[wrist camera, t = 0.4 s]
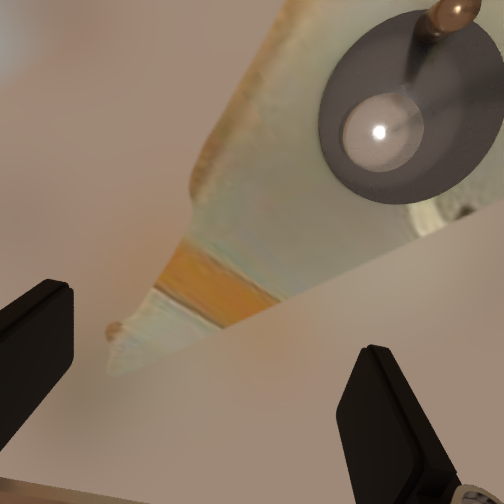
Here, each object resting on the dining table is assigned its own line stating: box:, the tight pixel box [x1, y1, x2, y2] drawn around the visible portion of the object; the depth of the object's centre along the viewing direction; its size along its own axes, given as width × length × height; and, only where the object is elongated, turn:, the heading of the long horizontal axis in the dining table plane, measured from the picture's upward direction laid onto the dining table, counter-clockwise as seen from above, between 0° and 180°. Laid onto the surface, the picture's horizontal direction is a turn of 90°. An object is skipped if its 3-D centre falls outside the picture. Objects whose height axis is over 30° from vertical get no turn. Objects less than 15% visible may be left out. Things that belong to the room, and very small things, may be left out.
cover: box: [338, 93, 424, 172], centre depth 28 cm, size 6×6×4 cm
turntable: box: [319, 0, 504, 204], centre depth 27 cm, size 16×16×6 cm
